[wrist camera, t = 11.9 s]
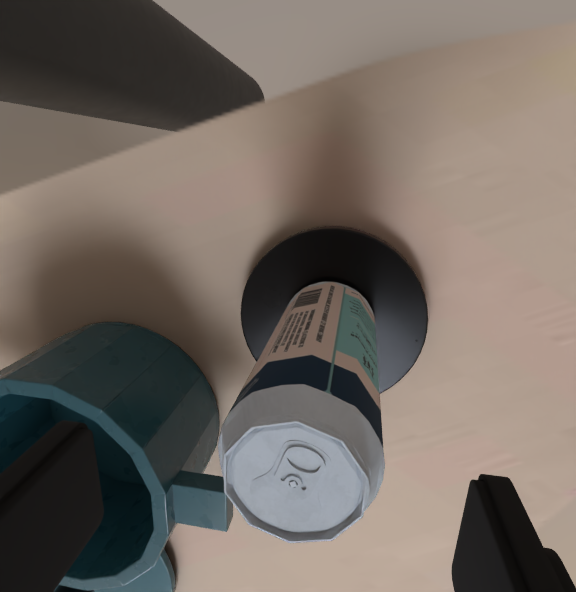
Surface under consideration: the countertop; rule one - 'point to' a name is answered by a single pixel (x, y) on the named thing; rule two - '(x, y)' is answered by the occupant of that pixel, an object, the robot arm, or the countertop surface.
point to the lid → (142, 580)
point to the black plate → (349, 271)
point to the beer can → (308, 421)
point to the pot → (123, 439)
